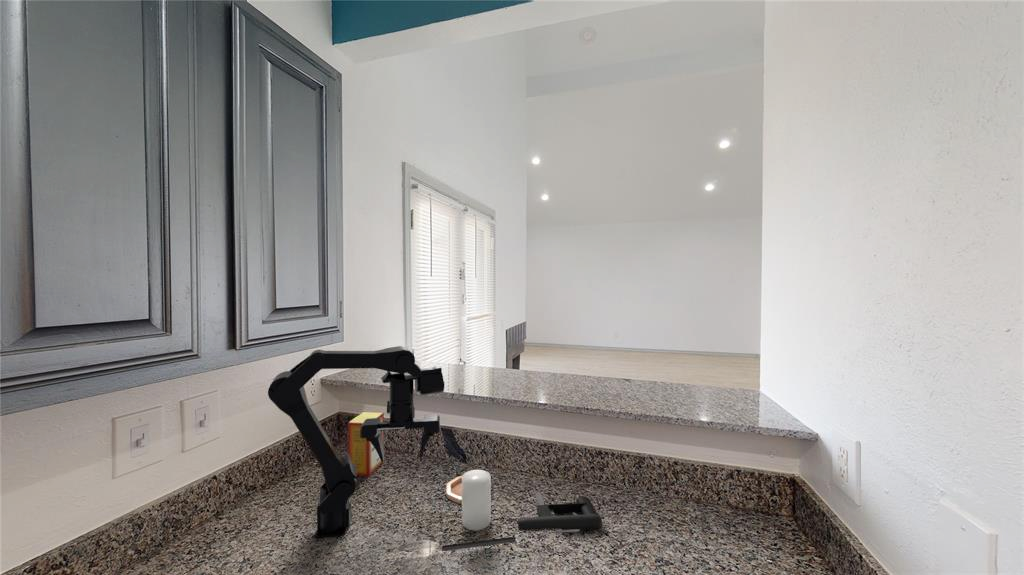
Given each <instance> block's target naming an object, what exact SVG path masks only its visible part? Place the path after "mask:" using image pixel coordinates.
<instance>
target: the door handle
mask: <svg viewBox="0 0 1024 575" xmlns="http://www.w3.org/2000/svg"><path fill="white" fill-rule="evenodd" d="M534 495H535V499H536V502H537V504H536V511H537V515H538V516H531V517H529V516H527V517H521V518H517V527H518V530H524V532H527V530H528V531H529V530H541V529H542V530H543V529H544V530H545V529H561V530H557V531H551V532H544V534H556V533H558V534H559V533H576V532H580V530H581V531H582V530H584V531H585V530H597V529H600V528H601V527H602V526H603V519H602V516H601V515H599V513H598V512H597V510H596V508H595V507H594V504H593V503H592V501H591V499H590V498H589V497H587V496H580V497H578V498H577V499H576V501H575V503H557V504H555V503H554V504H552V503H551V504H545V501H544V498H543V495H542V492H535V494H534ZM551 510H552V512H553V514H554V515H552V513H551Z"/></svg>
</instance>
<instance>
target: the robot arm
mask: <svg viewBox="0 0 1024 575" xmlns="http://www.w3.org/2000/svg"><path fill="white" fill-rule="evenodd" d="M415 362H416V357H415V355H414V354H413V352H412V351H411V350H409V348H407V347H406V346H402V345H398V346H394V347H393V346H392V347H387V348H383V349H382V348H381V349H380V350H379V349H378V350H323V349H316V350H313V351H312V352H311V353H310V355H308V356H307V357H306V358H304V359H303V360H301V361H299V363H297V364H296V365H295V366H294V367H292V368H291V369H290V370H285V371H282V372H280V373H278V374H277V375H276V376H275V377H274V378H273V380H272V381H271V383H270V385H269V388H268V391H267V396H268V399H270V401H271V402H272V403H273V404H274V405H275V406H276V407H277V408H278V409H279V411H281V412H282V413H284V414H285V415H287V416H288V417H289V418H290V419H291V421H292V422H293V423H294V425H295V427H296V428H297V430H298V431H299V434H300V435H301V437H302V438H303V440H304V441H305V443H306V445H307V446H308V449H310V451H311V453H312V454H313V456H314V458H315V459H316V461H317V462H318V464H319V466H320V467H321V471H322V475H323V477H324V478H323V479H324V482H323V483H322V485H320V487H319V494H318V496H319V498H318V504H317V506H316V531H315V534H314V538H315V539H320V538H327V537H337V536H338V537H339V536H344V535H345V534H346V533H347V529H348V528H349V527H350V525H351V523H352V522H351V521H352V517H353V515H352V513H353V511H352V510H353V509H352V508H353V507H352V503H351V502H350V498H351V497H352V495H354V494H355V492H356V488H357V479H358V476H357V471H356V464H354V463H353V462H352V461H351V459H350V456H349V453H348V452H347V453H346V454H344V456H343V455H342V454H340V453H339V452H338V451H337V449H336V448H335V446H334V445H333V443H332V441H331V439H330V438H329V437H328V434H327V433H326V431H325V430H324V428H323V426H322V424H321V423H320V421H319V419H318V418H317V416H316V414H315V413H314V411H313V409H312V407H311V405H310V403H309V402H308V398H307V397H308V396H307V394H306V389H305V385H306V384H307V383H308V382H310V380H311V379H312V378H314V377H315V376H316V375H317V374H318V373H319V372H320V371H321V370H334V369H335V370H338V369H341V370H345V369H347V370H348V369H350V370H352V369H376V370H377V369H378V370H381V371H386V373H385V374H383V376H381V377H380V378H381V382H382V383H383V384H388V383H389V400H387V401H386V403H387V404H386V414H389V421H385V422H382V423H381V418H371V419H366V420H365V421H364V422H363V424H362V426H361V429H360V438H366V441H370V442H371V443H372V445H373V446H374V448H375V449H376V451H377V453H378V455H379V457H380V460H381V462H382V463H384V461H385V449H384V450H383V440H382V431H384V432H385V431H396V430H412V429H422V434H421V435H422V436H421V440H420V448H419V459H420V460H421V459H422V458H423V455H424V452H425V448H426V445H427V443H428V442H429V440H430V438H431V437H432V438H433V437H434V436H435V434H438V433H440V428H441V427H440V426H441V425H440V424H441V423H440V422H441V421H440V418H441V416H440V415H439V414H437V413H436V414H425V415H423V417H424V418H423V419H418V420H417V419H415V415H416V414H415V412H416V411H415V404H414V389H415V393H418V394H419V395H420V396H421V397H422V396H427V395H428V396H429V395H435V394H443V393H444V391H445V381H444V375H443V372H442V369H443V368H442V367H441V366H433V367H426V368H421V367H420V365H418V364H416V363H415ZM414 419H415V420H414Z"/></svg>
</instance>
